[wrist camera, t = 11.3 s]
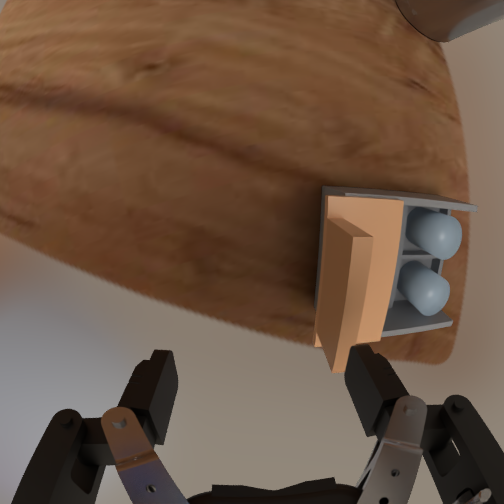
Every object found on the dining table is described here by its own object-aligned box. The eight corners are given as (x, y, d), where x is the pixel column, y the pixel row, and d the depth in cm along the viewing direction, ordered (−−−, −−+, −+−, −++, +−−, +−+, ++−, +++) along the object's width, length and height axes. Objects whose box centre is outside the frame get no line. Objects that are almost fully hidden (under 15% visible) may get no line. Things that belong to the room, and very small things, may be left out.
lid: (398, 199, 19) (444, 213, 13) (376, 335, 22) (403, 376, 17) (325, 194, 19) (355, 207, 13) (312, 341, 22) (328, 388, 17)
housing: (438, 195, 25) (477, 205, 19) (421, 298, 29) (451, 325, 23) (321, 185, 25) (345, 192, 19) (313, 306, 29) (329, 342, 22)
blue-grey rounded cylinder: (431, 203, 25) (460, 212, 20) (434, 239, 26) (462, 253, 21) (401, 211, 25) (429, 221, 20) (405, 248, 26) (431, 264, 21)
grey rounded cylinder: (424, 256, 26) (450, 272, 21) (424, 288, 27) (448, 308, 23) (394, 266, 26) (418, 285, 22) (396, 298, 28) (417, 321, 23)
